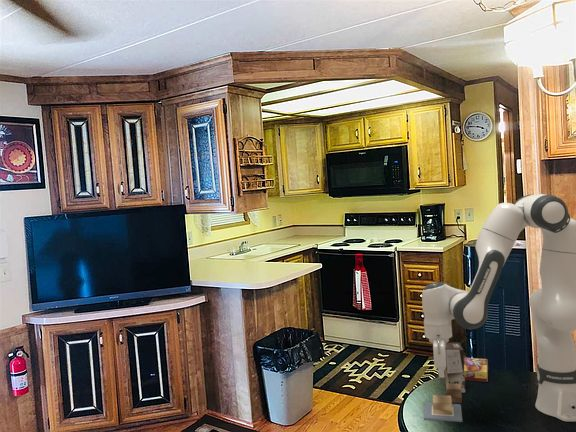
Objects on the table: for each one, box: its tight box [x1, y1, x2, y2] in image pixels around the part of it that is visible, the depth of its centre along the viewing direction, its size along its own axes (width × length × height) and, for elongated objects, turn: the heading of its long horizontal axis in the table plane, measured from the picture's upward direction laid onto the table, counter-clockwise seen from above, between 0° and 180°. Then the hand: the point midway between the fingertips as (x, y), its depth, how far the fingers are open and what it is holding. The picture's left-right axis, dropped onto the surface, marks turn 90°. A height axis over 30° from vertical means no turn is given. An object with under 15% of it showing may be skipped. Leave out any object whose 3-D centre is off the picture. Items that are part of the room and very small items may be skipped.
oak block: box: [432, 394, 453, 415], centre depth 165 cm, size 6×6×4 cm
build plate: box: [423, 401, 463, 423], centre depth 165 cm, size 12×12×1 cm
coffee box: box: [444, 342, 466, 394], centre depth 184 cm, size 9×6×16 cm
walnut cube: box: [445, 383, 463, 404], centre depth 174 cm, size 5×5×5 cm
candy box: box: [464, 357, 489, 383], centre depth 195 cm, size 9×4×15 cm
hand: (441, 371), depth 164 cm, fingers open, 8 cm apart
